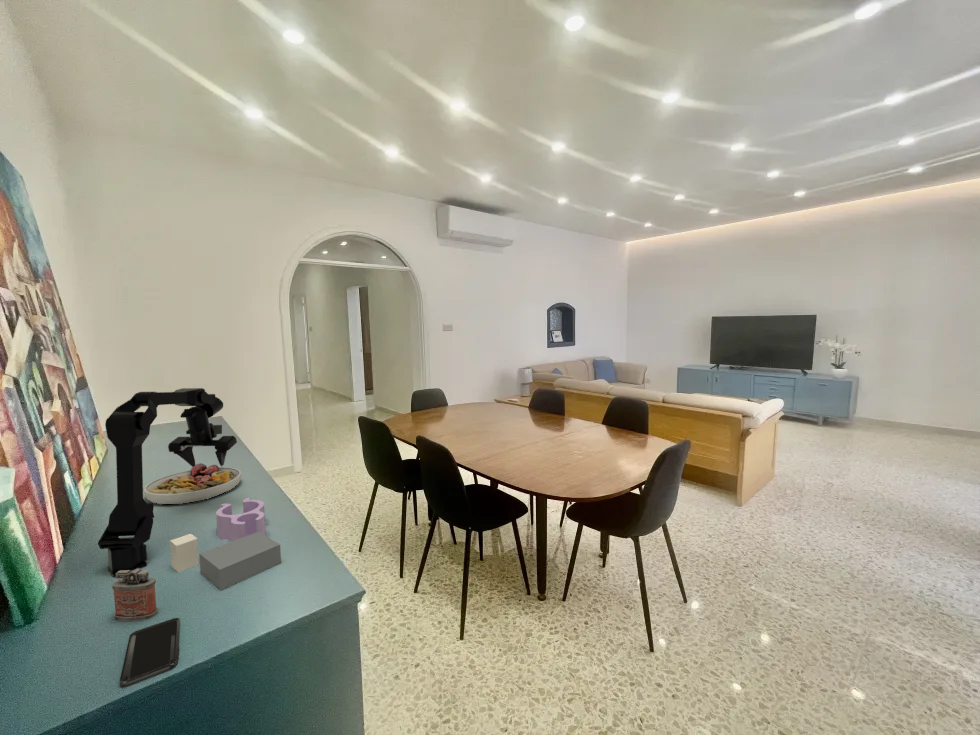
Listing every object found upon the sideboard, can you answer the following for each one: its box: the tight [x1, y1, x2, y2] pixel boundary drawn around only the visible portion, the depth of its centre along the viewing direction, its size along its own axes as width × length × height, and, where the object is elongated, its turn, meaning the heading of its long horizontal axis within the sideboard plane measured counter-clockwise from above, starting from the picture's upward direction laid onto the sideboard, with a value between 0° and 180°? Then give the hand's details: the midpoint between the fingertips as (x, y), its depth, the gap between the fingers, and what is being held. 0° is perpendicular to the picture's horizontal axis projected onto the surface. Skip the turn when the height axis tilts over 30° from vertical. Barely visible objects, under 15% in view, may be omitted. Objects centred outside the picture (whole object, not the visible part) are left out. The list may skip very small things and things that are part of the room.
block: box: [169, 533, 200, 573], centre depth 103 cm, size 4×4×7 cm
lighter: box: [111, 568, 159, 622], centre depth 84 cm, size 8×3×10 cm, turn 92°
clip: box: [215, 497, 266, 542], centre depth 121 cm, size 20×12×7 cm, turn 43°
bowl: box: [143, 463, 242, 505], centre depth 153 cm, size 30×30×8 cm
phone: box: [119, 617, 181, 688], centre depth 75 cm, size 8×1×15 cm
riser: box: [199, 532, 282, 591], centre depth 102 cm, size 14×12×5 cm
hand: (208, 465), depth 136 cm, fingers open, 9 cm apart
